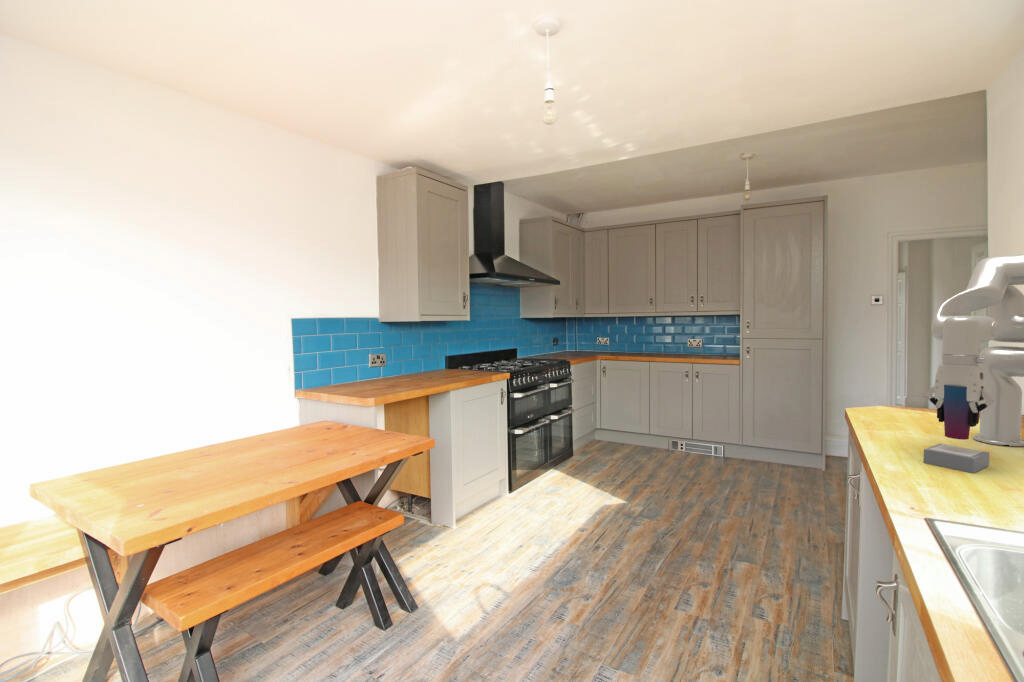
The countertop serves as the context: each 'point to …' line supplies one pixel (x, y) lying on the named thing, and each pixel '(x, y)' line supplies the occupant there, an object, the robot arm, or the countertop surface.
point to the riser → (956, 458)
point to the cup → (956, 412)
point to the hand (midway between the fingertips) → (957, 423)
